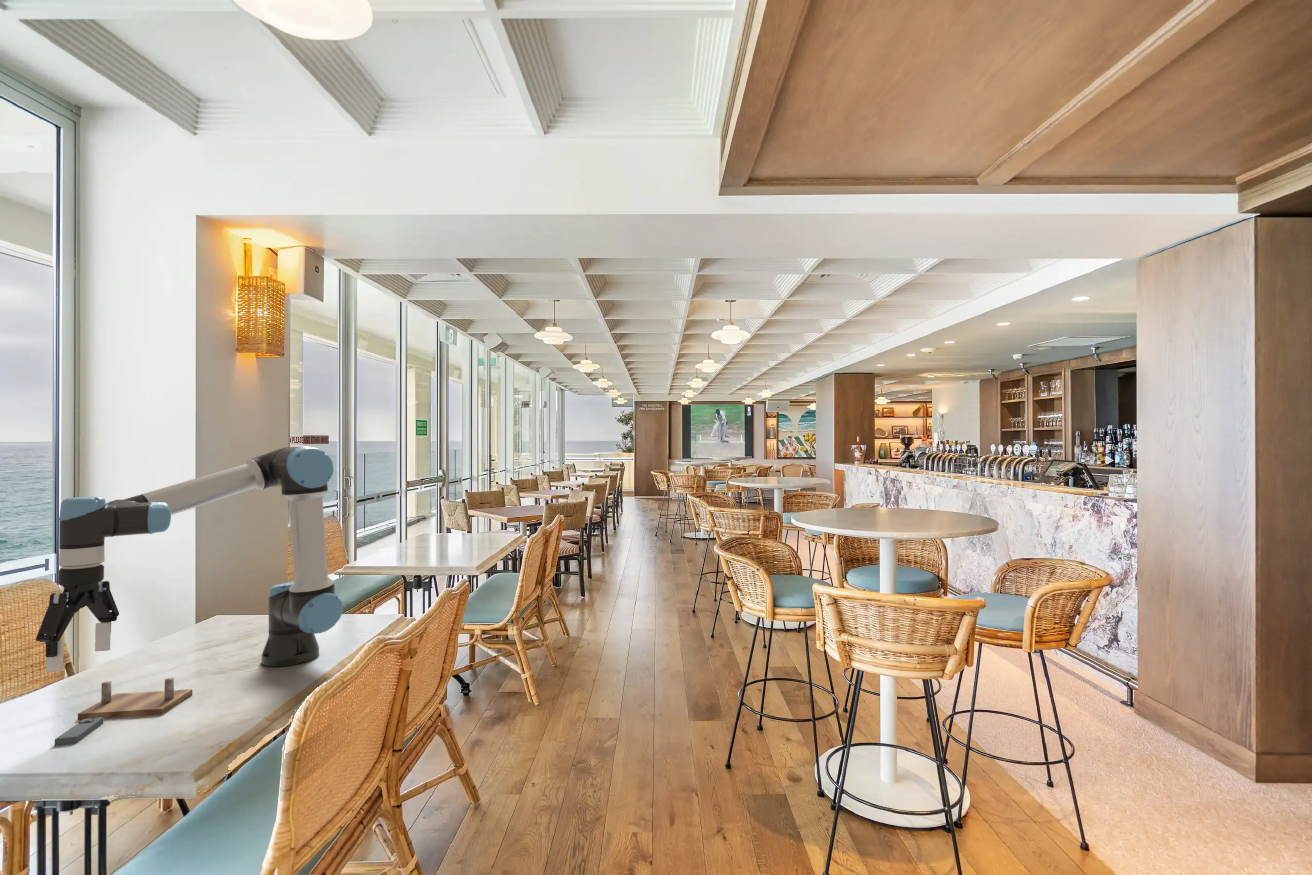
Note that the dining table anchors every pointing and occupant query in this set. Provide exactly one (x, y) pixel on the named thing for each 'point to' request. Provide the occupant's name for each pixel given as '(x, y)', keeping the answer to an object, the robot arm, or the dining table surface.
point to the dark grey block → (79, 731)
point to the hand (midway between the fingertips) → (79, 660)
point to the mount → (135, 702)
